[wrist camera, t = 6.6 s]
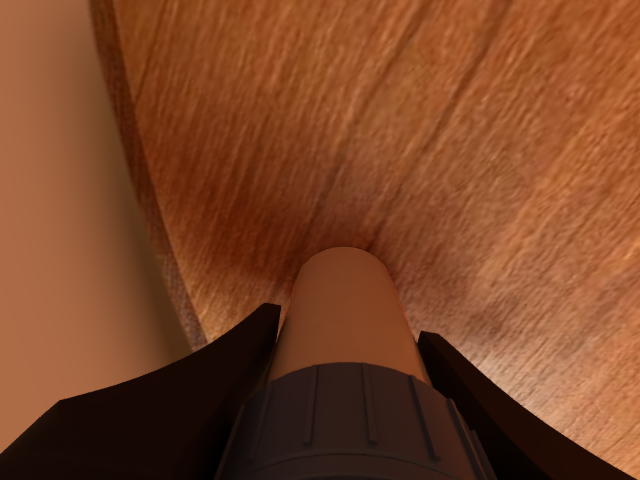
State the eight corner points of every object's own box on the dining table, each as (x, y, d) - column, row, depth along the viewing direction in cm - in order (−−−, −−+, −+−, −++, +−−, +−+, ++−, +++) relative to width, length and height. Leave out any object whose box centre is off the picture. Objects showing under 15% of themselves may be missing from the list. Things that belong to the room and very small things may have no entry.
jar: (273, 290, 15) (168, 536, 6) (346, 225, 13) (361, 403, 4) (341, 352, 15) (344, 652, 6) (414, 295, 14) (545, 566, 5)
